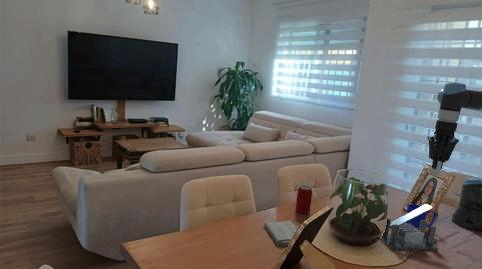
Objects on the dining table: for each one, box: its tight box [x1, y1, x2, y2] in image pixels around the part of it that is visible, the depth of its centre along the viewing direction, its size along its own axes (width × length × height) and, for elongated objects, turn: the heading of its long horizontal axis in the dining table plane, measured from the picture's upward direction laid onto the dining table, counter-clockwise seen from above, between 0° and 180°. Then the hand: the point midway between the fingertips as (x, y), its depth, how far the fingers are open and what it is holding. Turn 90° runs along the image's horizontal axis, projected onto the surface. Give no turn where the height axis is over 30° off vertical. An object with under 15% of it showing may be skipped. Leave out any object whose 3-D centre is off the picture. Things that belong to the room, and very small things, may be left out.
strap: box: [387, 203, 434, 230], centre depth 141 cm, size 19×4×1 cm, turn 98°
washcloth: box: [263, 220, 298, 247], centre depth 141 cm, size 12×18×3 cm, turn 15°
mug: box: [405, 203, 437, 229], centre depth 158 cm, size 8×12×10 cm
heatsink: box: [380, 217, 439, 251], centre depth 143 cm, size 20×12×9 cm, turn 99°
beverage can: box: [295, 185, 313, 214], centre depth 166 cm, size 7×7×12 cm
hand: (434, 176), depth 147 cm, fingers closed
